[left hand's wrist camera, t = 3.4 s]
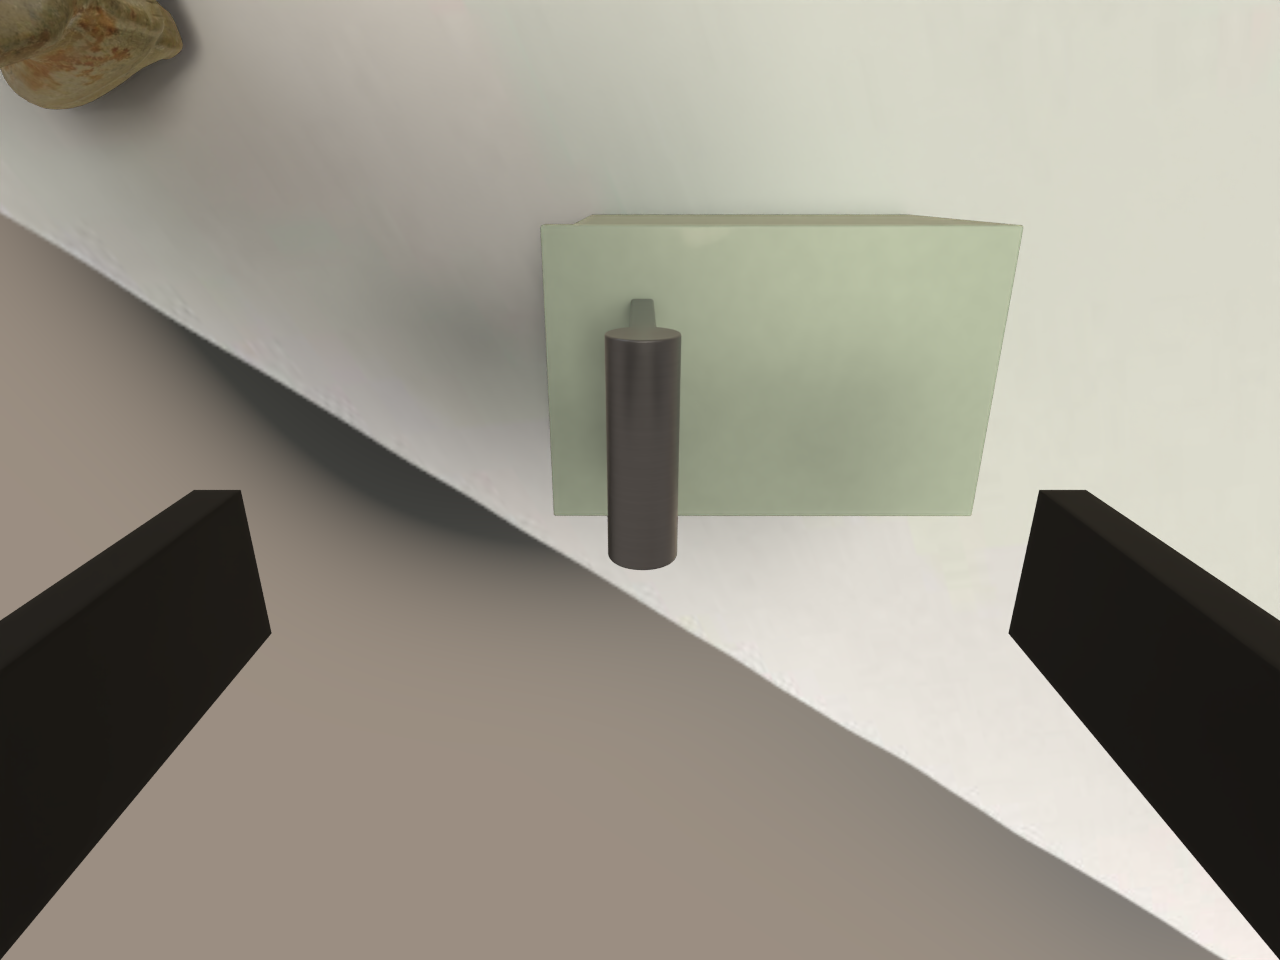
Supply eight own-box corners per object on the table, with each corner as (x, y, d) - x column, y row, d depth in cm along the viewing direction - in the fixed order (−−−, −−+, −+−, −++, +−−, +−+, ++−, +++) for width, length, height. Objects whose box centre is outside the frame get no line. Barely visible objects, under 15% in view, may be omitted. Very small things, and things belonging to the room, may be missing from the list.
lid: (556, 507, 26) (520, 641, 19) (543, 224, 23) (492, 241, 15) (962, 507, 26) (1098, 641, 19) (1012, 224, 23) (1205, 242, 15)
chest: (595, 427, 35) (580, 506, 27) (590, 214, 32) (571, 223, 23) (882, 427, 35) (961, 506, 27) (909, 214, 32) (1011, 224, 23)
